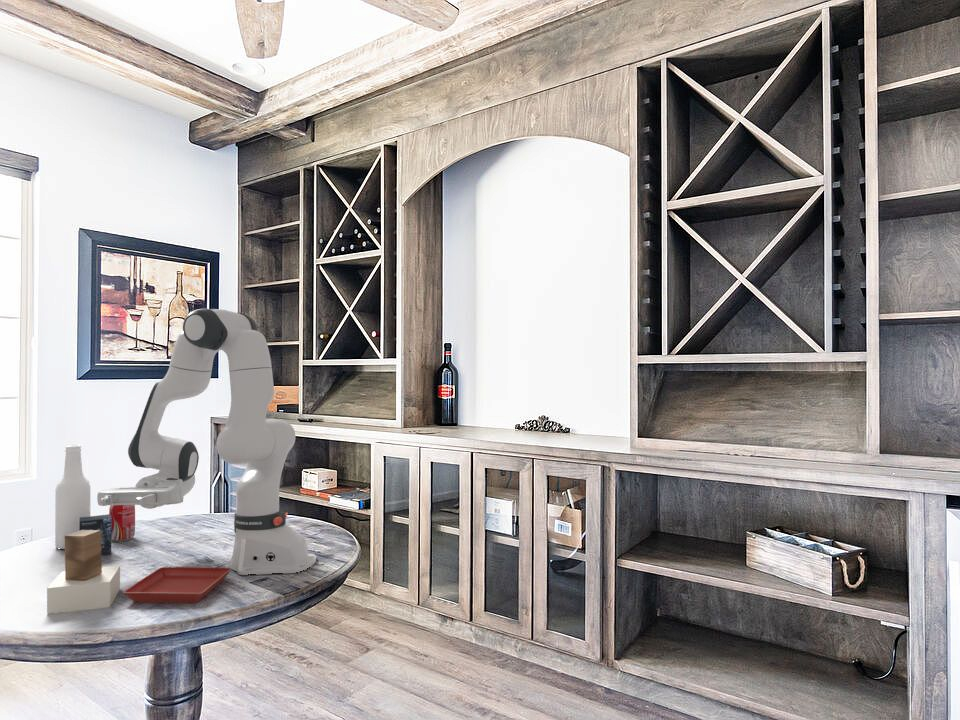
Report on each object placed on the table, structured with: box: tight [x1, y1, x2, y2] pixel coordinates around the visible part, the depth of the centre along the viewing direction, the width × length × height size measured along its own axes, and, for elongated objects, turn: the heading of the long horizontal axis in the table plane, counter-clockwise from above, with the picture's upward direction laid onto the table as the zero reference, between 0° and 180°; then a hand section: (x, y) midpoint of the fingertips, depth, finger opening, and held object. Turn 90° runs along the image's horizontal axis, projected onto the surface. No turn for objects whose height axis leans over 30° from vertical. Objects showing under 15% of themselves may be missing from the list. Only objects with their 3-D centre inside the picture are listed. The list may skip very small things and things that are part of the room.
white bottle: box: [54, 444, 91, 549], centre depth 189 cm, size 9×9×30 cm
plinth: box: [46, 565, 121, 614], centre depth 146 cm, size 12×12×6 cm
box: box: [79, 513, 112, 556], centre depth 181 cm, size 8×6×11 cm
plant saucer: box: [123, 566, 232, 604], centre depth 152 cm, size 18×18×3 cm
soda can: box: [108, 505, 136, 543], centre depth 196 cm, size 7×7×12 cm
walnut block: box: [64, 530, 102, 581], centre depth 145 cm, size 5×5×10 cm
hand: (120, 502), depth 160 cm, fingers open, 8 cm apart
